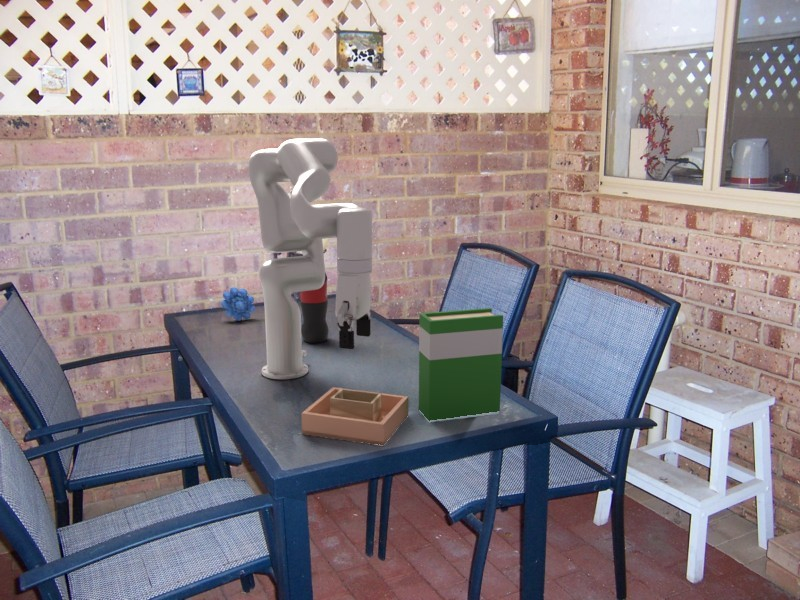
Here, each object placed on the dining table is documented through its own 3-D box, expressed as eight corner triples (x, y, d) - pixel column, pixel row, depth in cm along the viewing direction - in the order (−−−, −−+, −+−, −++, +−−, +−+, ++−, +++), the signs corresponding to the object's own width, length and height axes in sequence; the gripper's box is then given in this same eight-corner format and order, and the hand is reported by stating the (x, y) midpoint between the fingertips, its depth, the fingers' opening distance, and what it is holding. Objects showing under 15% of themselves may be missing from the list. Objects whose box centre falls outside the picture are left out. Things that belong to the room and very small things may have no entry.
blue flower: (224, 325, 247) (222, 290, 244) (220, 320, 253) (218, 286, 250) (258, 322, 251) (257, 287, 248) (254, 317, 257) (252, 283, 254)
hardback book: (487, 402, 180) (490, 307, 174) (499, 414, 173) (503, 315, 167) (418, 410, 175) (419, 313, 169) (428, 422, 168) (430, 321, 162)
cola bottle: (329, 336, 235) (327, 243, 227) (327, 344, 226) (325, 248, 219) (302, 336, 234) (300, 243, 227) (300, 344, 226) (297, 248, 219)
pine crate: (341, 412, 171) (341, 388, 169) (382, 418, 168) (382, 393, 166) (330, 423, 165) (329, 398, 163) (372, 429, 162) (372, 403, 160)
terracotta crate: (333, 406, 177) (332, 387, 176) (408, 416, 171) (408, 396, 170) (302, 434, 161) (301, 413, 160) (383, 446, 156) (383, 424, 154)
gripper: (353, 257, 167) (354, 329, 171) (321, 272, 151) (323, 351, 155) (384, 259, 164) (384, 333, 169) (355, 274, 149) (356, 355, 153)
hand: (355, 341), depth 162 cm, fingers open, 9 cm apart
